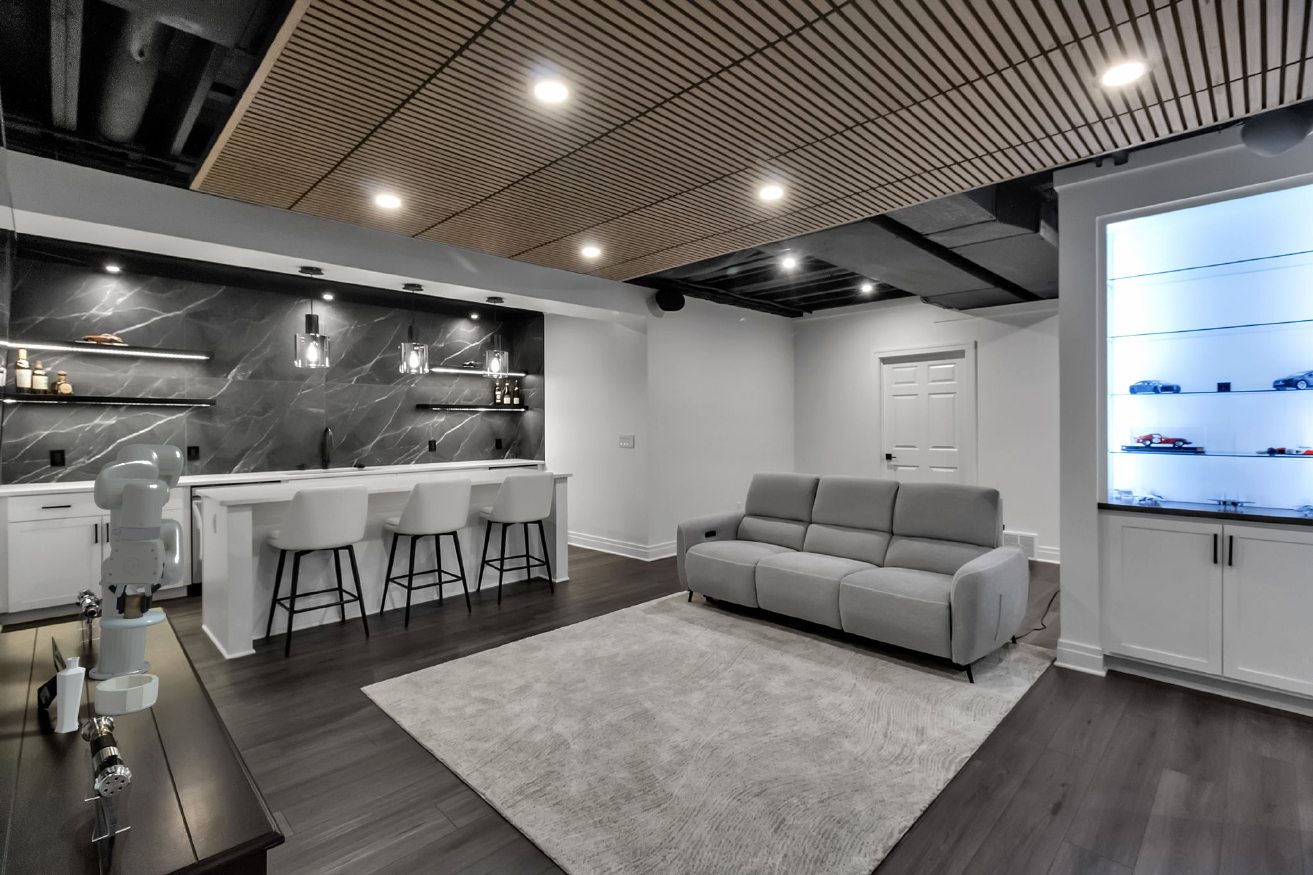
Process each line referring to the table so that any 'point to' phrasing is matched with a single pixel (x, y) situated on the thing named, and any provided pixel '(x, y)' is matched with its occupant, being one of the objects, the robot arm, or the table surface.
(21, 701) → the table surface
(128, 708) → the bowl
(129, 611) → the lid
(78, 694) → the perfume bottle
